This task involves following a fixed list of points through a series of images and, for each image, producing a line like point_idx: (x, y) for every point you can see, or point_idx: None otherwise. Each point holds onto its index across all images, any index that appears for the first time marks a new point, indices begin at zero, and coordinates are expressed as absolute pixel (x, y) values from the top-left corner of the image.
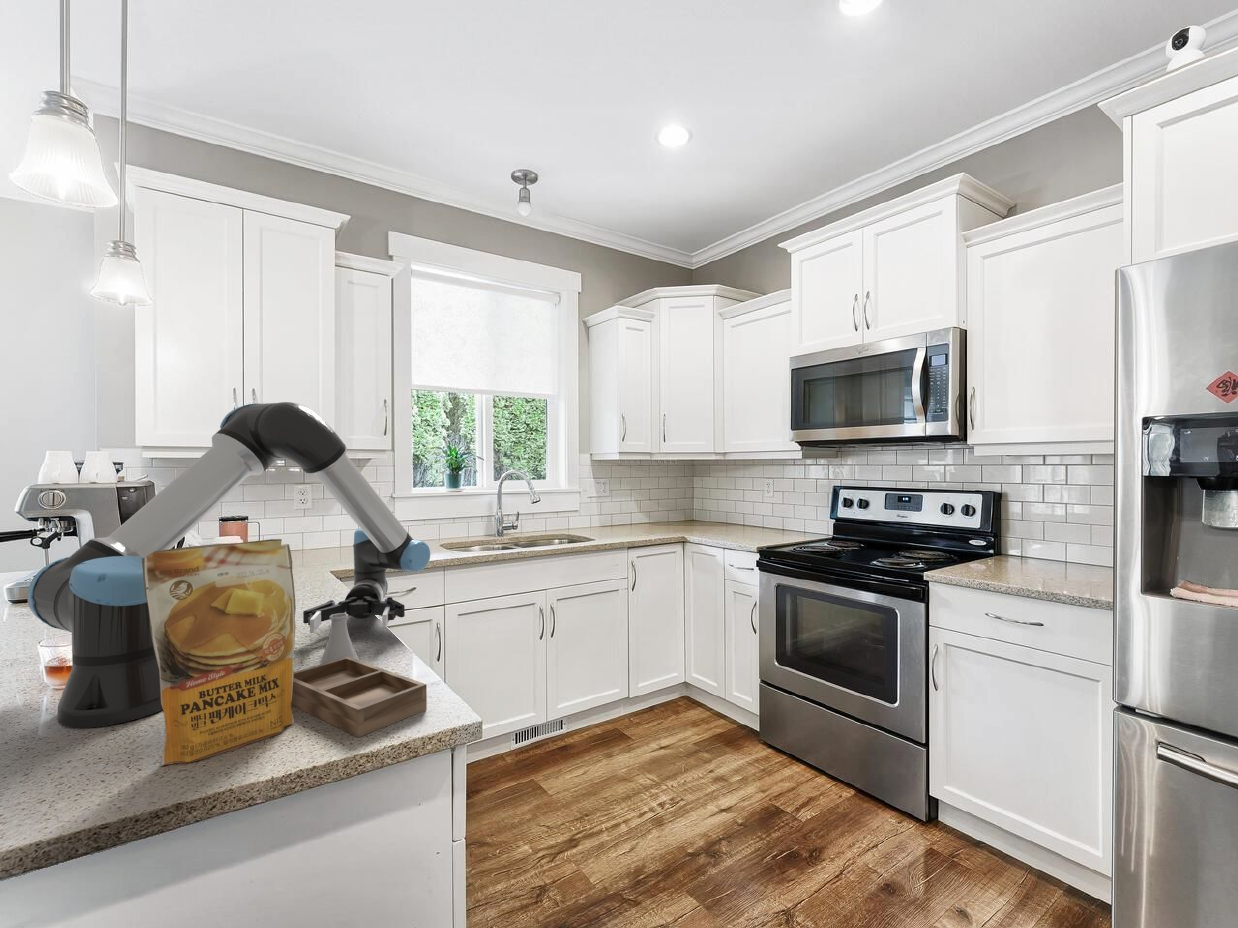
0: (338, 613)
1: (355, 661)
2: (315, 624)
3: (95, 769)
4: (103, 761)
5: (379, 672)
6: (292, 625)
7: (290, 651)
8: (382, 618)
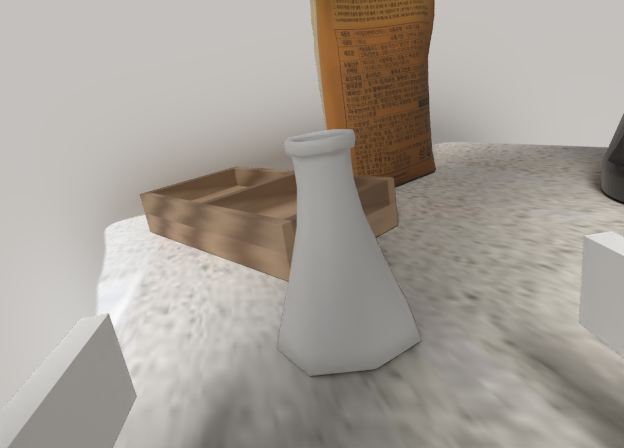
0: (329, 138)
1: (257, 215)
2: (615, 305)
3: (498, 157)
4: (508, 160)
5: (205, 201)
6: (317, 50)
7: (323, 93)
8: (115, 337)
